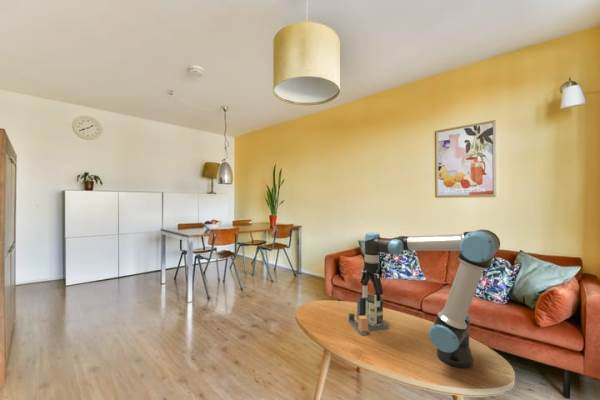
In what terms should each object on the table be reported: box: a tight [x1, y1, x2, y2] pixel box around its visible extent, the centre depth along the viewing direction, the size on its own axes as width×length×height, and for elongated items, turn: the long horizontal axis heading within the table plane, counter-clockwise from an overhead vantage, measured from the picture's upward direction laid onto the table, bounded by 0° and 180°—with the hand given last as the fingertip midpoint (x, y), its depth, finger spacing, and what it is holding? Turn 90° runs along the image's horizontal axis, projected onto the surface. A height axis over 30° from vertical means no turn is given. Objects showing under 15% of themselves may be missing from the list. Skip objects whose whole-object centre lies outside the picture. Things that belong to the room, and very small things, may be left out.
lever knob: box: [357, 315, 369, 332], centre depth 156 cm, size 4×4×7 cm
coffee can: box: [366, 295, 384, 326], centre depth 166 cm, size 10×10×14 cm
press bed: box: [356, 294, 389, 332], centre depth 168 cm, size 16×12×14 cm
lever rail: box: [348, 312, 368, 337], centre depth 162 cm, size 18×3×5 cm, turn 15°
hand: (370, 301), depth 148 cm, fingers open, 13 cm apart
